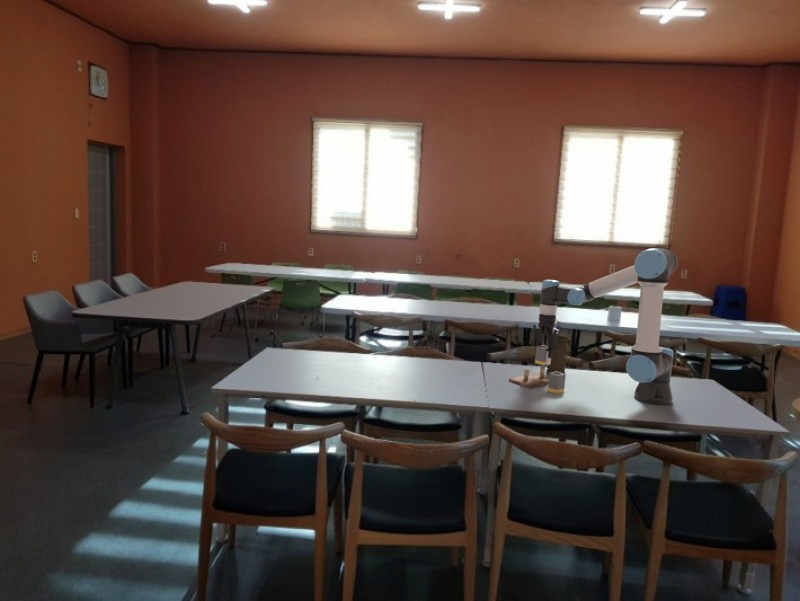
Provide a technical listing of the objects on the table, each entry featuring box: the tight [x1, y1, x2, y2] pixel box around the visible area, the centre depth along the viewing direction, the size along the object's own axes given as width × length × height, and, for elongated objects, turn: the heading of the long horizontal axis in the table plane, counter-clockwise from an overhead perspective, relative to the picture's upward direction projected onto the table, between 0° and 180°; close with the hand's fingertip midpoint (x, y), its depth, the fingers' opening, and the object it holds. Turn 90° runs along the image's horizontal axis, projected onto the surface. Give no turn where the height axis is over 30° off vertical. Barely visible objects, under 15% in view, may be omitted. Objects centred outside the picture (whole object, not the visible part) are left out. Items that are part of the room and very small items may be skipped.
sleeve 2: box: [547, 371, 567, 394], centre depth 260 cm, size 5×5×8 cm
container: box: [545, 335, 569, 374], centre depth 290 cm, size 9×9×18 cm
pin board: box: [508, 366, 549, 389], centre depth 274 cm, size 12×20×6 cm, turn 127°
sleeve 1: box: [534, 344, 551, 366], centre depth 276 cm, size 5×5×8 cm
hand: (542, 362), depth 276 cm, fingers closed on sleeve 1, 5 cm apart
